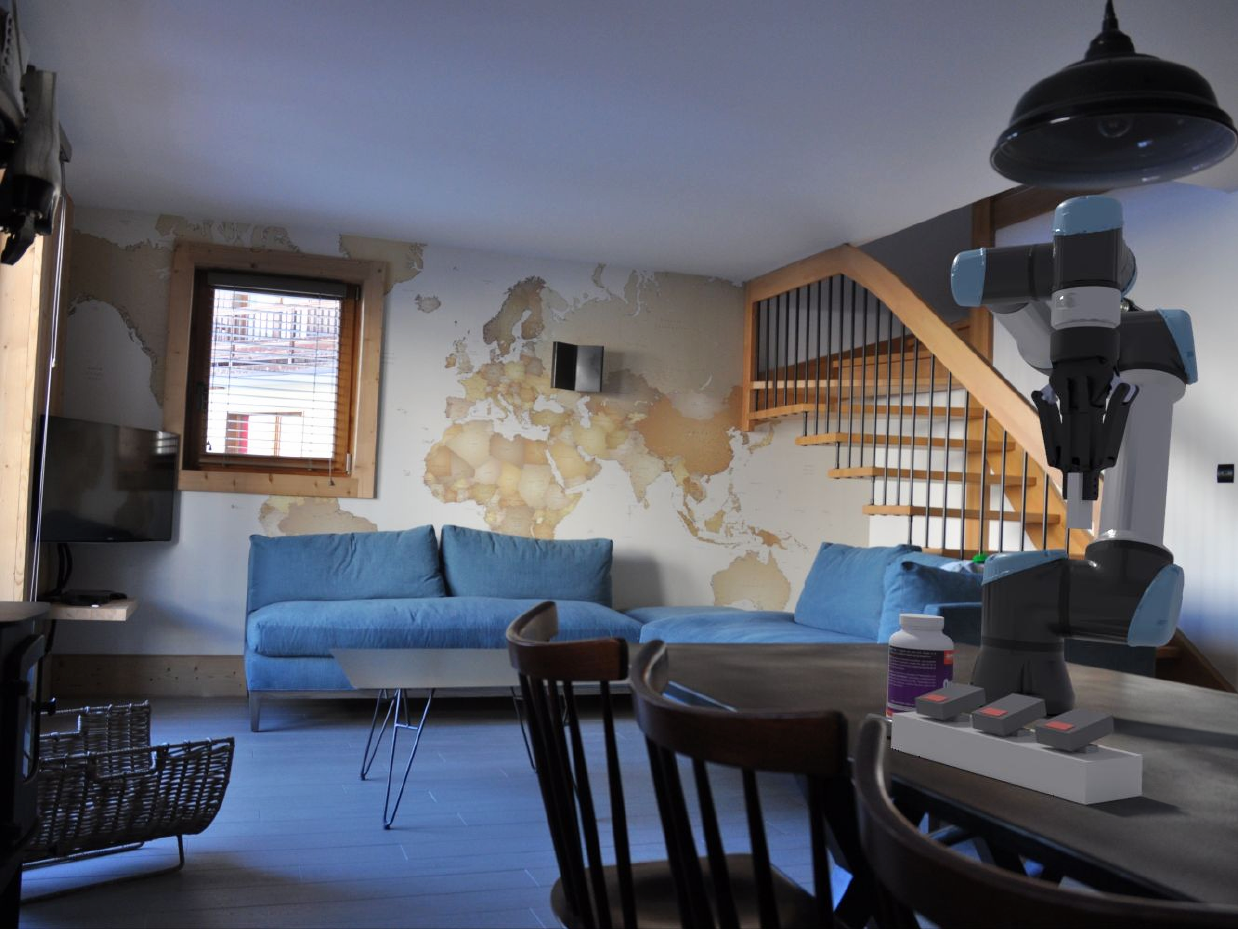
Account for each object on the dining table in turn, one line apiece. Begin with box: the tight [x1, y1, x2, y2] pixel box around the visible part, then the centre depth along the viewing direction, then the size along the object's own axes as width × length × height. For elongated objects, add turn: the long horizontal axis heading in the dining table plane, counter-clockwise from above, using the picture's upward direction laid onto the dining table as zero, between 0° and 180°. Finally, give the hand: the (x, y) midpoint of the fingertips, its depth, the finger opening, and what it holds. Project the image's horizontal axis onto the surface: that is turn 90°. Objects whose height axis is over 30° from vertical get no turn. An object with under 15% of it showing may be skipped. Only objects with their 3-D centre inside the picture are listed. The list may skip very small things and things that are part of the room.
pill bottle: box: [885, 613, 955, 719], centre depth 135 cm, size 8×8×14 cm
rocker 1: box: [915, 682, 986, 720], centre depth 120 cm, size 7×4×2 cm, turn 121°
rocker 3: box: [1034, 707, 1115, 751], centre depth 107 cm, size 7×4×2 cm, turn 121°
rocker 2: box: [970, 693, 1047, 736], centre depth 113 cm, size 7×4×2 cm, turn 121°
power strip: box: [865, 712, 1144, 806], centre depth 117 cm, size 9×33×5 cm, turn 31°
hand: (1079, 528), depth 123 cm, fingers closed
